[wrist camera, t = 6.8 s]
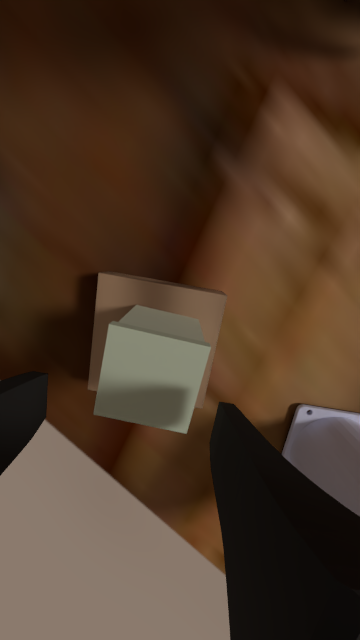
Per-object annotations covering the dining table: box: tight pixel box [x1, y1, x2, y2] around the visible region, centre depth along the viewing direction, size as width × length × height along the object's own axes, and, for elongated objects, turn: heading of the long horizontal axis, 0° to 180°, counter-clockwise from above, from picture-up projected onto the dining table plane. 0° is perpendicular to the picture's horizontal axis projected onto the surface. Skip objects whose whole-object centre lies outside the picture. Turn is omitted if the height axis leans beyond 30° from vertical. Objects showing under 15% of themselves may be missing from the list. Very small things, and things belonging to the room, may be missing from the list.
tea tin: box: [94, 305, 211, 434], centre depth 15 cm, size 5×5×6 cm
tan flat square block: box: [88, 271, 227, 409], centre depth 19 cm, size 9×9×3 cm
